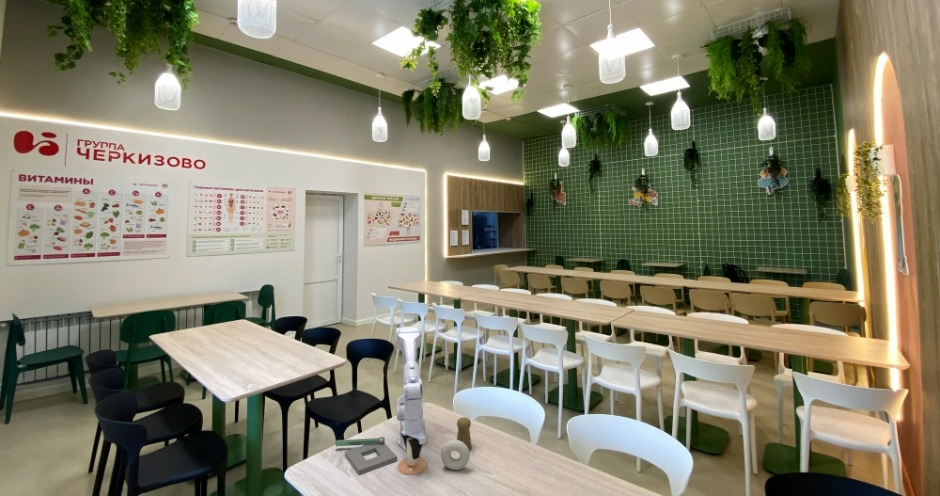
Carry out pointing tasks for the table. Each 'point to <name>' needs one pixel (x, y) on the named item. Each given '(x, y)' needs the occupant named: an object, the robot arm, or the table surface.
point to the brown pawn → (464, 431)
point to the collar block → (365, 465)
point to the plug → (410, 454)
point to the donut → (451, 462)
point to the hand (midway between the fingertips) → (412, 455)
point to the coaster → (412, 467)
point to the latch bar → (360, 442)
